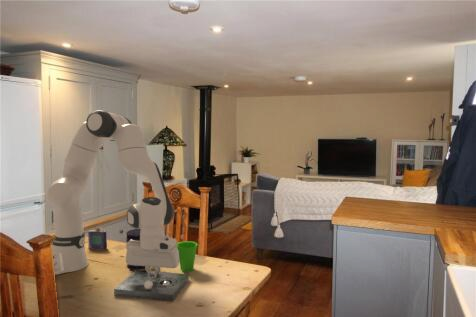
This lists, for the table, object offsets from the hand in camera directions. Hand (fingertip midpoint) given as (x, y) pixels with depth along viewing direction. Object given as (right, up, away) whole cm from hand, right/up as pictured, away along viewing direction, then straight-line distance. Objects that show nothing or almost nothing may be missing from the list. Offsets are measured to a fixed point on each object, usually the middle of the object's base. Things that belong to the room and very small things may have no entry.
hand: (152, 277), depth 138 cm
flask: (-37, 0, +42) cm, 56 cm away
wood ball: (-1, +1, +7) cm, 7 cm away
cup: (+10, -3, +18) cm, 21 cm away
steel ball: (+5, -3, -1) cm, 6 cm away
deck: (0, -4, 0) cm, 4 cm away
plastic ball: (0, -1, -7) cm, 7 cm away
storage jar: (-11, -2, +22) cm, 24 cm away
